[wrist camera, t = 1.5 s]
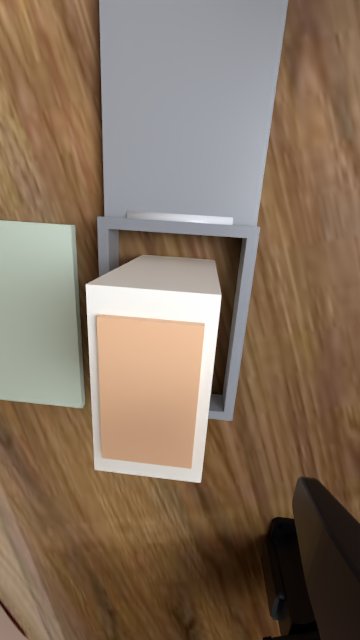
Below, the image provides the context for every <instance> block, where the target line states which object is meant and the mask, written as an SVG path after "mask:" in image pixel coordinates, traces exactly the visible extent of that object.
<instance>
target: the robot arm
mask: <svg viewBox="0 0 360 640" xmlns="http://www.w3.org/2000/svg"><path fill="white" fill-rule="evenodd" d="M292 507H293V514H294V519H288V518H280V517H277V518H275V519H274V520H273V522H272V527H271V531H270V535H269V538H268V539H267V540H266V541H265V545H264V550H263V554H262V558H261V561H262V567H263V573H264V580H265V586H266V592H267V598H268V605H269V611H270V616H271V617H272V618H273V620H278V622H279V627H280V633H281V636H279V637H274V638H271V636H269V637H263V640H360V523H359V522H358V521H357V520H356V519H355V518H354V517H353V516H352V515H351V514H350V513H349V512H348V511H347V510H346V509H345V508H344V507H343V506H342V505H341V504H340V502H339V501H338V500H337V499H336V498H335V497H334V496H333V495H332V494H331V493H330V492H329V491H328V490H327V489H326V488H325V487H324V486H323V485H322V484H321V483H320V482H319V481H318V480H317V479H315V478H310V477H299V478H298V480H297V484H296V488H295V492H294V496H293V501H292Z"/></svg>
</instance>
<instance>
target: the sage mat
mask: <svg viewBox="0 0 360 640" xmlns="http://www.w3.org/2000/svg"><path fill="white" fill-rule="evenodd" d="M0 399H1V400H10V401H19V402H28V403H38V404H47V405H56V406H65V407H74V408H83V406H84V405H85V390H84V372H83V355H82V337H81V320H80V302H79V285H78V267H77V250H76V232H75V225H66V224H51V223H36V222H21V221H6V220H0Z"/></svg>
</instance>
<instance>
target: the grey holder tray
mask: <svg viewBox="0 0 360 640" xmlns="http://www.w3.org/2000/svg"><path fill="white" fill-rule="evenodd" d="M287 6H288V0H99V15H100V55H101V95H102V135H103V175H104V216H105V217H98V216H97V230H98V260H99V277H101V276H102V275H104V274H106V273H108V272H110V271H112V270H114V269H116V268H118V267H119V230H133V231H148V232H163V233H178V234H193V235H208V236H223V237H238V238H242V245H241V253H240V261H239V268H238V276H237V284H236V292H235V300H234V308H233V316H232V324H231V332H230V339H229V347H228V355H227V363H226V371H225V379H224V387H223V395H219V394H211V395H210V404H209V414H208V418H210V419H220V420H229V421H232V418H233V411H234V404H235V398H236V391H237V384H238V377H239V370H240V363H241V356H242V349H243V342H244V335H245V328H246V322H247V315H248V308H249V301H250V294H251V287H252V280H253V273H254V266H255V259H256V252H257V246H258V239H259V232H260V227H256V226H257V219H258V212H259V205H260V198H261V191H262V184H263V177H264V169H265V162H266V155H267V148H268V141H269V134H270V127H271V120H272V113H273V105H274V98H275V91H276V84H277V77H278V70H279V63H280V56H281V49H282V41H283V34H284V27H285V20H286V13H287Z"/></svg>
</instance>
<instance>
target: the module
mask: <svg viewBox="0 0 360 640" xmlns="http://www.w3.org/2000/svg"><path fill="white" fill-rule="evenodd" d="M221 296H222V294H221V289H220V284H219V279H218V274H217V269H216V264H215V260H210V259H196V258H182V257H168V256H154V255H141V256H139V257H137V258H135V259H133V260H131V261H130V262H128V263H126V264H124V265H122V266H120V267H118V268H116V269H114V270H112V271H110V272H108V273H106V274H104V275H102V276H101V277H99V278H97V279H95V280H93V281H91V282H89V283H87V284H86V302H87V323H88V343H89V364H90V384H91V404H92V425H93V445H94V466H95V470H99V471H108V472H116V473H124V474H132V475H140V476H148V477H157V478H165V479H173V480H181V481H189V482H197V483H201V477H202V468H203V459H204V450H205V441H206V432H207V423H208V414H209V404H210V395H211V386H212V377H213V368H214V359H215V350H216V341H217V332H218V323H219V314H220V305H221Z"/></svg>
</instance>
